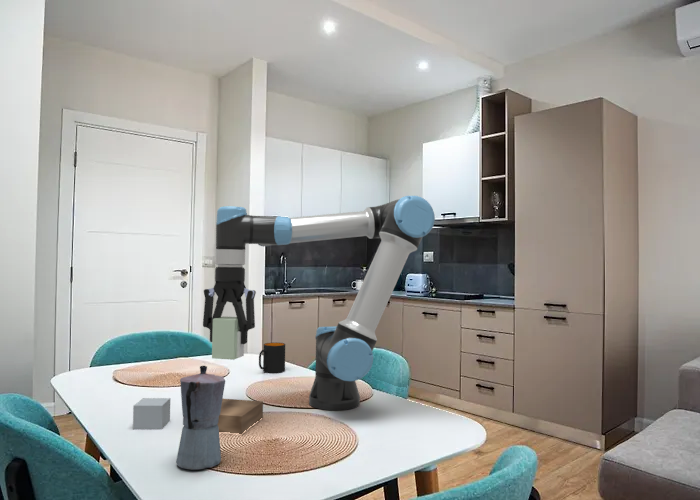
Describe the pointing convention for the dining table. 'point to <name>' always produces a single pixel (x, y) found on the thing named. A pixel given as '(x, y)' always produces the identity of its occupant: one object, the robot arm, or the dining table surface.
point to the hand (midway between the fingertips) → (228, 355)
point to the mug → (273, 358)
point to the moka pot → (200, 420)
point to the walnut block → (239, 415)
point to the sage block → (225, 338)
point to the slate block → (151, 413)
